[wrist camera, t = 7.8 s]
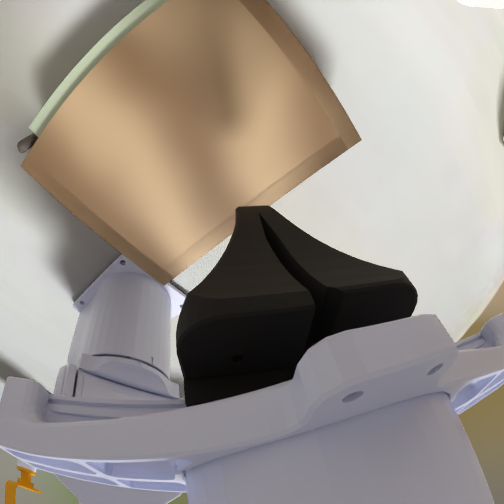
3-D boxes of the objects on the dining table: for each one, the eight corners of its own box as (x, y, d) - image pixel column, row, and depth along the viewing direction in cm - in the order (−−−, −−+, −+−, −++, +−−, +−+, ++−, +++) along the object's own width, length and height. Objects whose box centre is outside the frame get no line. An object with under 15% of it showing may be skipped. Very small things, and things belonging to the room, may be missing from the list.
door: (69, 120, 16) (39, 138, 12) (59, 110, 15) (27, 126, 11) (218, -12, 12) (224, -33, 9) (207, -23, 12) (209, -46, 8)
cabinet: (168, 241, 23) (164, 285, 19) (47, 131, 16) (10, 156, 12) (326, 119, 19) (361, 139, 15) (211, -23, 12) (216, -50, 8)
